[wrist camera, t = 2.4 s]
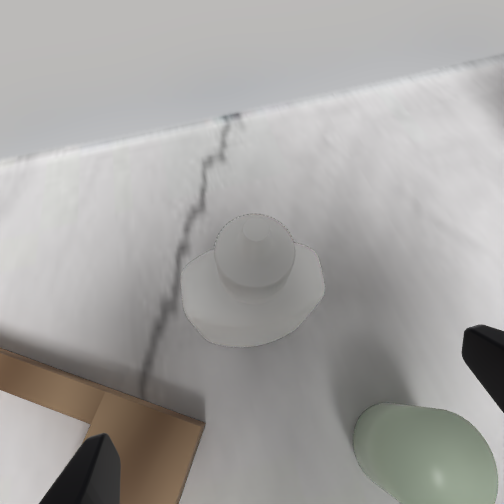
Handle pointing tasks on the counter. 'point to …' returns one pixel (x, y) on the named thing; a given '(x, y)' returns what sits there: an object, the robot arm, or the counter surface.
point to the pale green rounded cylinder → (425, 455)
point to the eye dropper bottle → (251, 284)
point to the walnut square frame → (115, 426)
